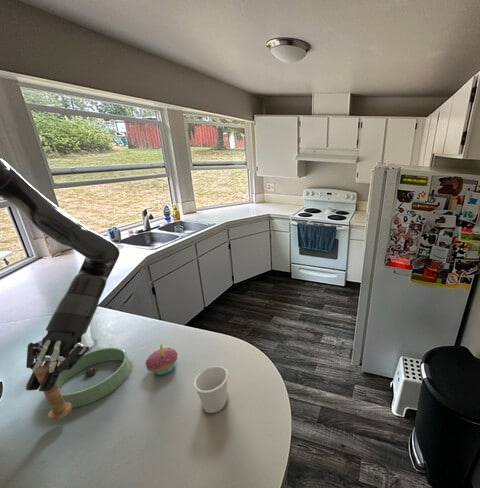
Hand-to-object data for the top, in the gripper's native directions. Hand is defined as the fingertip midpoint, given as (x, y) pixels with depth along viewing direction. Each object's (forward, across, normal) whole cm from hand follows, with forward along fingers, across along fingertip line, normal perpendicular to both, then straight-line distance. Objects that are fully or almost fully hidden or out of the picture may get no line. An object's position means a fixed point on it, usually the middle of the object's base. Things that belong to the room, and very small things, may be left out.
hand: (38, 390), depth 57 cm
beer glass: (-9, -19, +29) cm, 36 cm away
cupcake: (-4, +14, +24) cm, 28 cm away
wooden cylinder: (+6, 0, +8) cm, 10 cm away
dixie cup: (+3, +36, +16) cm, 39 cm away
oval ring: (0, -4, +20) cm, 20 cm away
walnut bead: (-3, -6, +20) cm, 21 cm away
